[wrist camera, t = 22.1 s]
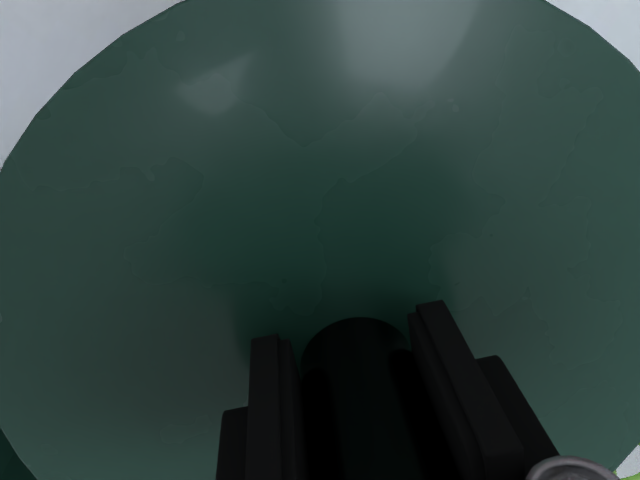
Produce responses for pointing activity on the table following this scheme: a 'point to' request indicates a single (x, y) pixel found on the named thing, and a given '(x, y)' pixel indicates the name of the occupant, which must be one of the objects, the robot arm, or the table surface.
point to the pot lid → (321, 233)
